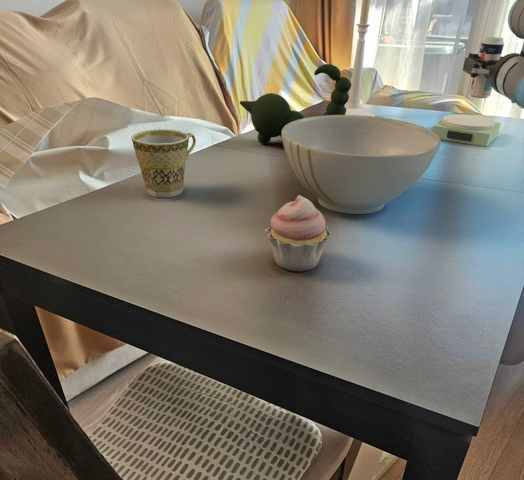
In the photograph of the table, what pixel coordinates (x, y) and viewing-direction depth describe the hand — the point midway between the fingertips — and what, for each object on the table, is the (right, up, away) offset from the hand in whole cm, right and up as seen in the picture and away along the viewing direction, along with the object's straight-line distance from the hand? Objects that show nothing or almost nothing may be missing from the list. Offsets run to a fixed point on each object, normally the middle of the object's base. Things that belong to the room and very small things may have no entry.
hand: (480, 60), depth 120 cm
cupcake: (-47, -56, -47) cm, 87 cm away
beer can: (0, -9, 0) cm, 9 cm away
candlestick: (-26, -1, +27) cm, 38 cm away
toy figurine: (-45, -20, +2) cm, 49 cm away
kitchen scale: (+1, -13, +13) cm, 18 cm away
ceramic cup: (-69, -39, -24) cm, 83 cm away
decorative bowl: (-36, -42, -27) cm, 61 cm away
